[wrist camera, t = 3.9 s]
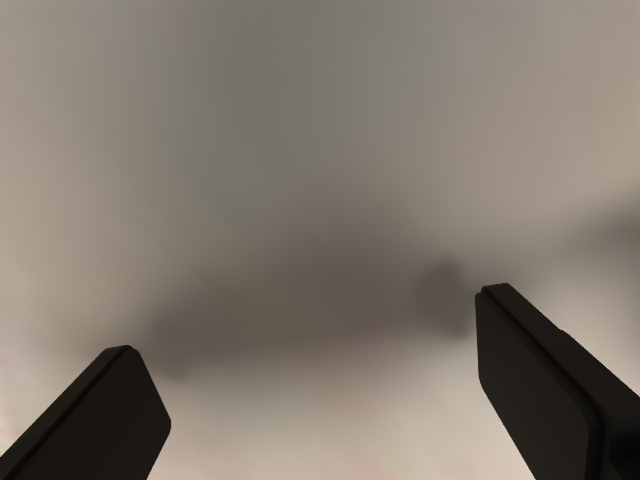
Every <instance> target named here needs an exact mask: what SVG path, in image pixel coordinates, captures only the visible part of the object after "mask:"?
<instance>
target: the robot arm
mask: <svg viewBox="0 0 640 480" xmlns="http://www.w3.org/2000/svg"><path fill="white" fill-rule="evenodd" d="M475 307H476V329H477V350H478V372H479V379H480V383H481V386H482V388H483V390H484V392H485V394H486V395H487V397H488V399H489V401H490V402H491V404H492V406H493V407H494V409H495V411H496V413H497V414H498V416H499V418H500V419H501V421H502V423H503V425H504V426H505V428H506V430H507V431H508V433H509V435H510V437H511V438H512V440H513V442H514V443H515V445H516V447H517V449H518V450H519V452H520V454H521V455H522V457H523V459H524V461H525V462H526V464H527V466H528V467H529V469H530V471H531V473H532V474H533V476H534V478H535V479H536V480H640V397H639V396H638V395H637V394H636V393H635V392H633V391H632V390H631V389H630V388H629V387H628V386H627V385H625V384H624V383H623V382H622V381H621V380H620V379H619V378H618V377H616V376H615V375H614V374H613V373H612V372H611V371H610V370H609V369H607V368H606V367H605V366H604V365H603V364H602V363H601V362H599V361H598V360H597V359H596V358H595V357H594V356H593V355H592V354H590V353H589V352H588V351H587V350H586V349H585V348H584V347H582V346H581V345H580V344H579V343H578V342H577V341H576V340H575V339H573V338H572V337H571V336H570V335H569V334H567V333H566V332H564V331H563V330H560V329H559V328H558V327H557V326H555V325H554V324H553V323H552V322H551V321H550V320H549V319H548V318H547V317H545V316H544V315H543V314H542V313H541V312H540V311H539V310H538V309H536V308H535V307H534V306H533V305H532V304H531V303H530V302H529V301H528V300H526V299H525V298H524V297H523V296H522V295H521V294H520V293H519V292H517V291H516V290H515V289H514V288H513V287H512V286H511V285H510V284H508V283H501V284H495V285H489V286H484V287H483V288H482V290H481V293H477V294H476V295H475ZM170 430H171V419H170V417H169V415H168V413H167V410H166V408H165V406H164V404H163V402H162V400H161V398H160V396H159V393H158V391H157V389H156V387H155V385H154V383H153V381H152V378H151V376H150V374H149V372H148V370H147V368H146V366H145V364H144V361H143V359H142V357H141V355H140V353H139V352H138V350H136V349H134V348H133V347H131V346H130V345H123V346H117V347H111V348H107V349H105V350H104V351H102V352H101V353H100V355H99V356H98V357H97V358H96V359H95V360H94V361H93V362H92V363H91V364H90V365H89V366H88V367H87V368H86V369H85V370H84V371H83V372H82V373H81V374H80V375H79V376H78V377H77V378H76V379H75V380H74V381H73V382H72V384H71V385H70V386H69V387H68V388H67V389H66V390H65V391H64V392H63V393H62V394H61V395H60V396H59V397H58V398H57V399H56V400H55V401H54V402H53V403H52V404H51V405H50V406H49V407H48V408H47V409H46V410H45V411H44V413H43V414H42V415H41V416H40V417H39V418H38V419H37V420H36V421H35V422H34V423H33V424H32V425H31V426H30V427H29V428H28V429H27V430H26V431H25V432H24V433H23V434H22V435H21V436H20V437H19V438H18V439H17V440H16V442H15V443H14V444H13V445H12V446H11V447H10V448H9V449H8V450H7V451H6V452H5V453H4V454H3V455H2V456H1V457H0V480H146V479H147V477H148V475H149V473H150V471H151V469H152V467H153V465H154V463H155V461H156V459H157V457H158V455H159V453H160V451H161V449H162V447H163V445H164V443H165V441H166V439H167V437H168V435H169V433H170Z"/></svg>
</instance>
